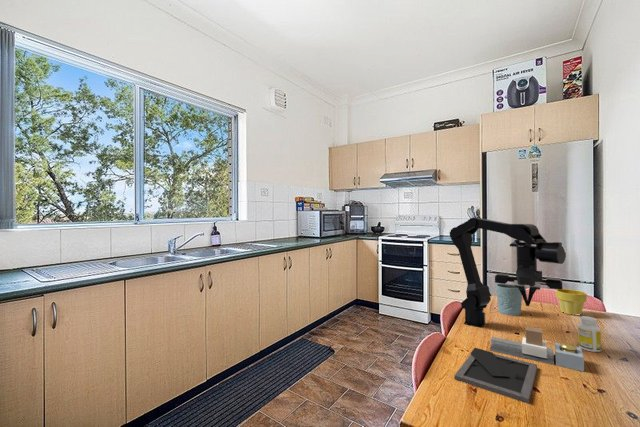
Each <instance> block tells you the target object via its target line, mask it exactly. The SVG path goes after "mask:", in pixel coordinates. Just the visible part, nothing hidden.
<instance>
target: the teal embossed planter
mask: <svg viewBox="0 0 640 427" xmlns="http://www.w3.org/2000/svg"><path fill="white" fill-rule="evenodd" d="M495 288H496V298H497V309H498V312H499V313H500V314H502V315H505V314H506V316H512V317H516V316H518V315H519V316H521V315H522V304H523V303H522V302H523V296H522V294H521V292H520V290H519V289H518V288H517V287H514V284H511V283H510V284H509V283H505V284H503V283H495Z"/></svg>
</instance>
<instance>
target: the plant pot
mask: <svg viewBox="0 0 640 427" xmlns="http://www.w3.org/2000/svg"><path fill="white" fill-rule="evenodd" d="M555 297H556V299H557V300H558V303H559V308H560V311H562V312H564V313H568V314H581V315H582V313H583V308H584V305H585V303H586V302H587V292H584V291H581V290H576V289H570V288H562V289H555ZM562 312H561V313H562ZM564 313H563V314H564Z"/></svg>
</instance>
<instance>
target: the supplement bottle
mask: <svg viewBox="0 0 640 427" xmlns="http://www.w3.org/2000/svg"><path fill="white" fill-rule="evenodd" d="M579 317H580V322H579V323H578V324H577V336H578V338H577V339H578V347H581V350H585V351H588V352H593V353H601V351H602V336H601V334H602V333H601V331H602V330H601V328H600V326H598V319H596V318H595V317H591V316H583V315H582V316H579Z"/></svg>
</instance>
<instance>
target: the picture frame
mask: <svg viewBox="0 0 640 427" xmlns="http://www.w3.org/2000/svg"><path fill="white" fill-rule="evenodd" d="M537 371H538V364H536V363H532V362H530V361H529V362H528V361H524V360H520V359H516V358H513V357H509V356H504V355H500V354H498V353H497V354H496V353H494V351H490V350H484V349H482V348H479V347H478V348H477V347H474V348H473V349H472V351H471V352H470V354H469V356H468V357H467V358H466V359H465V361H464V362H463V363H462V365H461V366H460V368H459V369H458V370H457V371H456V373H455V374H454V376H453V377H454V379H455V381H458V382H461V381H462V382H461V383H464V382H465V383H464V384H467V383H468V384H467V385H470V384H471V386H472V387H476V388H480V389H483V390H484V391H485V390H486V391H489V392H491V393H495V394H496V395H497V394H498V395H500V396H504V397H506V398H511V399H513V400H517V401H520V402H522V403H525V404H530V399H531V396H532V392H533V387H534V384H535V380H536V375H537V373H538V372H537Z"/></svg>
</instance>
